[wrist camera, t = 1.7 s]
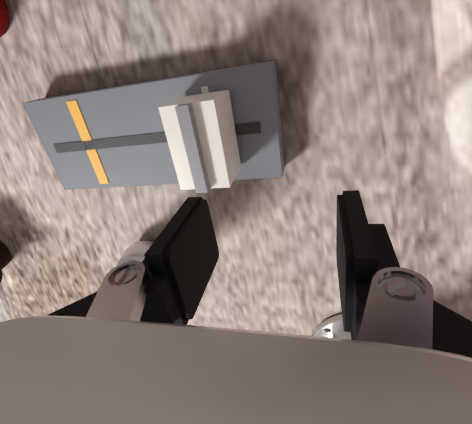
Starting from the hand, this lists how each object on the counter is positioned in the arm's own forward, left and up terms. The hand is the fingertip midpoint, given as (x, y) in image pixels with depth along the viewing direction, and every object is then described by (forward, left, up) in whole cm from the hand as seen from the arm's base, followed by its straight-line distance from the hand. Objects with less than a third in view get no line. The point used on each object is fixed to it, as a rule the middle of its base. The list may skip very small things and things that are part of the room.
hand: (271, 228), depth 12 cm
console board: (+11, +9, -19) cm, 24 cm away
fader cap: (+6, +5, -16) cm, 18 cm away
